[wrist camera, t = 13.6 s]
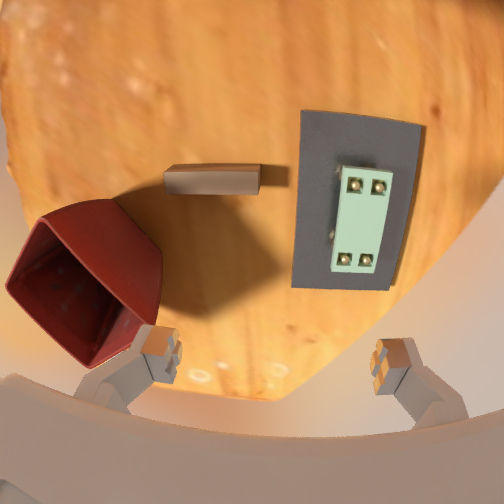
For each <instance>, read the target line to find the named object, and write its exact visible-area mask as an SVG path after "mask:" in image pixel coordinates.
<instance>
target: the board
mask: <svg viewBox="0 0 504 504" xmlns="http://www.w3.org/2000/svg"><path fill="white" fill-rule="evenodd" d="M348 177H359V178H362V181H361V189H360V191H356V190H347V182H348ZM392 177H393V172H391V171H390V170H384V169H375V168H366V167H356V166H345V165H343V169H342V180H341V190H340V199H339V208H338V216H337V224H336V232H335V239H334V246H333V253H332V260H331V272H352V273H374V270H375V266H376V262H377V257H378V253H379V248H380V244H381V239H382V234H383V229H384V224H385V219H386V213H387V208H388V202H389V196H390V190H391V183H392ZM372 179H379V180H385V182H384V191H383V193H378V192H371V187H372ZM338 252H343V253H351V254H350V260H349V262H348V263H347V264H343V263H342V261H337V258H338ZM360 253H364V254H372V255H371V259H370V260H371V263H370V264H369V265H365V264H364V263H363V262H359V258H360Z"/></svg>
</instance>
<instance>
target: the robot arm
mask: <svg viewBox="0 0 504 504" xmlns="http://www.w3.org/2000/svg"><path fill="white" fill-rule="evenodd" d="M178 338H179V332H178V329H175V328H168V327H162V326H156V325H148V324H143V325H142V326H141V327H140V329H139V331H138V333H137V335H136V336H135V338H134V340H133V342H132V344H131V346H130V348H129V350H128V351H127V350H125V351H123V352H122V353H120V354H118V355H117V356H115V357H114V358H112V359H110V360H109V361H107V362H106V363H104V364H102V365H101V366H99V367H97V368H96V369H94V370H93V371H91V372H89V373H88V374H86V375H85V376H84V377H83V379H82V381H81V383H80V385H79V386H78V388H77V390H76V392H75V394H74V396H73V397H72V396H70V395H67V394H64V393H61V392H59V391H56V390H54V389H51V388H49V387H46V386H44V385H41V384H39V383H36V382H34V381H32V380H30V379H27V378H26V377H23V376H21V375H19V374H16V373H10V374H7V375H5V376H3V377H1V378H0V504H504V409H501V410H498V411H495V412H491V413H488V414H485V415H481V416H477V417H474V418H470V419H469V416H468V413H467V410H466V407H465V404H464V401H463V398H462V396H461V395H460V394H458V393H457V392H456V391H455V390H454V389H453V388H451V387H450V386H449V385H448V384H447V383H446V382H445V381H443V380H442V379H441V378H440V377H439V376H437V375H436V374H435V373H434V372H433V371H431V370H430V369H429V368H428V367H427V366H423V363H422V360H421V358H420V355H419V352H418V350H417V347H416V344H415V342H414V339H412V338H394V339H379V340H378V341H377V344H376V348H377V350H376V351H375V352H373V354H372V357H371V363H370V369H371V374H372V375H373V376H374V377H375V379H374V382H373V385H374V390H375V395H390V394H394V396H395V397H396V398H397V400H398V401H399V402H400V403H401V405H402V406H403V407H404V408H405V409H406V411H407V412H408V413H409V414H410V415H411V417H412V418H413V419H414V420H415V421H416V424H415V426H414V427H413V428H412V429H411V430H409V431H402V432H394V433H385V434H375V435H363V436H347V437H314V438H313V437H312V438H311V437H307V438H306V437H274V436H258V435H246V434H236V433H226V432H218V431H210V430H203V429H198V428H192V427H186V426H180V425H175V424H170V423H165V422H160V421H155V420H151V419H147V418H143V417H138V416H135V415H131V413H130V412H129V410H128V409H127V407H126V406H127V405H128V404H130V403H131V402H132V401H133V400H134V399H135V398H137V397H138V396H139V395H140V394H141V393H142V392H143V391H145V390H146V389H147V388H148V387H149V386H150V385H151V384H153V383H154V381H155V382H161V383H168V384H173V382H174V379H175V376H176V373H177V371H176V366H177V365H179V364H180V361H181V358H182V344H181V342H180V341H179V340H178Z"/></svg>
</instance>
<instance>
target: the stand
mask: <svg viewBox="0 0 504 504" xmlns="http://www.w3.org/2000/svg"><path fill="white" fill-rule="evenodd" d="M163 173H164V183H165V192H166V194H222V195H258V193H259V189H260V176H261V164H177V165H173V166H171V167H170V168H169V169H167V170H166V171H165V172H163Z"/></svg>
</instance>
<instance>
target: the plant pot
mask: <svg viewBox="0 0 504 504" xmlns="http://www.w3.org/2000/svg"><path fill="white" fill-rule="evenodd" d="M162 271H163V267H162V253H161V251H160V249H159V248H158V247H157V246H156V245H155V244H154V243H153V242H152V241H151V240H150V239H149V238H148V237H147V236H146V235H145V233H144V232H143V231H142V230H141V229H140V228H139V227H138V226H137V225H136V224H135V223H134V222H133V221H132V219H131V218H130V217H129V216H128V215H127V214H126V213H125V212H124V211H123V210H122V208H121V207H120V206H119V205H118V204H117V203H116V202H115V201H114V200H112V199H97V200H88V201H83V202H79V203H75V204H71V205H68V206H65V207H63V208H60V209H57V210H55V211H53V212H50V213H48V214H46V215H44V216H42V217H40V218H38V220H37V221H36V223H35V225H34V227H33V228H32V230H31V232H30V234H29V236H28V238H27V240H26V242H25V244H24V246H23V248H22V250H21V252H20V254H19V256H18V258H17V260H16V262H15V264H14V266H13V268H12V271H11V273H10V275H9V277H8V279H7V281H6V283H5V288H6V290H7V292H8V293H9V294H10V296H11V297H12V298H13V299H14V300H15V301H16V302H17V303H18V304H19V306H21V308H22V309H23V310H24V311H25V312H26V313H27V314H28V315H29V316H30V317H31V318H32V319H33V320H34V321H35V322H36V323H37V324H38V325H39V326H40V327H41V328H42V329H43V330H44V331H45V332H46V333H47V334H48V335H49V336H50V337H52V338H53V339H54V340H55V341H56V342H57V343H58V344H59V345H60V346H61V347H62V348H63V349H65V350H66V351H67V352H68V353H69V354H70V355H71V356H73V357H74V358H75V359H76V360H77V361H78V362H80V363H81V364H82V365H83V366H85V367H86V368H89V369H92V368H94V367H96V366H98V365H100V364H102V363H103V362H105V361H107V360H108V359H110V358H112V357H114V356H115V355H117V354H119V353H121V352H122V351H124V350H126V349H128V348H129V347H130V346H131V344H132V342H133V340H134V338H135V336H136V335H137V333H138V331H139V329H140V327H141V326H142V325H143V324H148V325H155V323H156V319H157V315H158V309H159V303H160V297H161V289H162Z"/></svg>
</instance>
